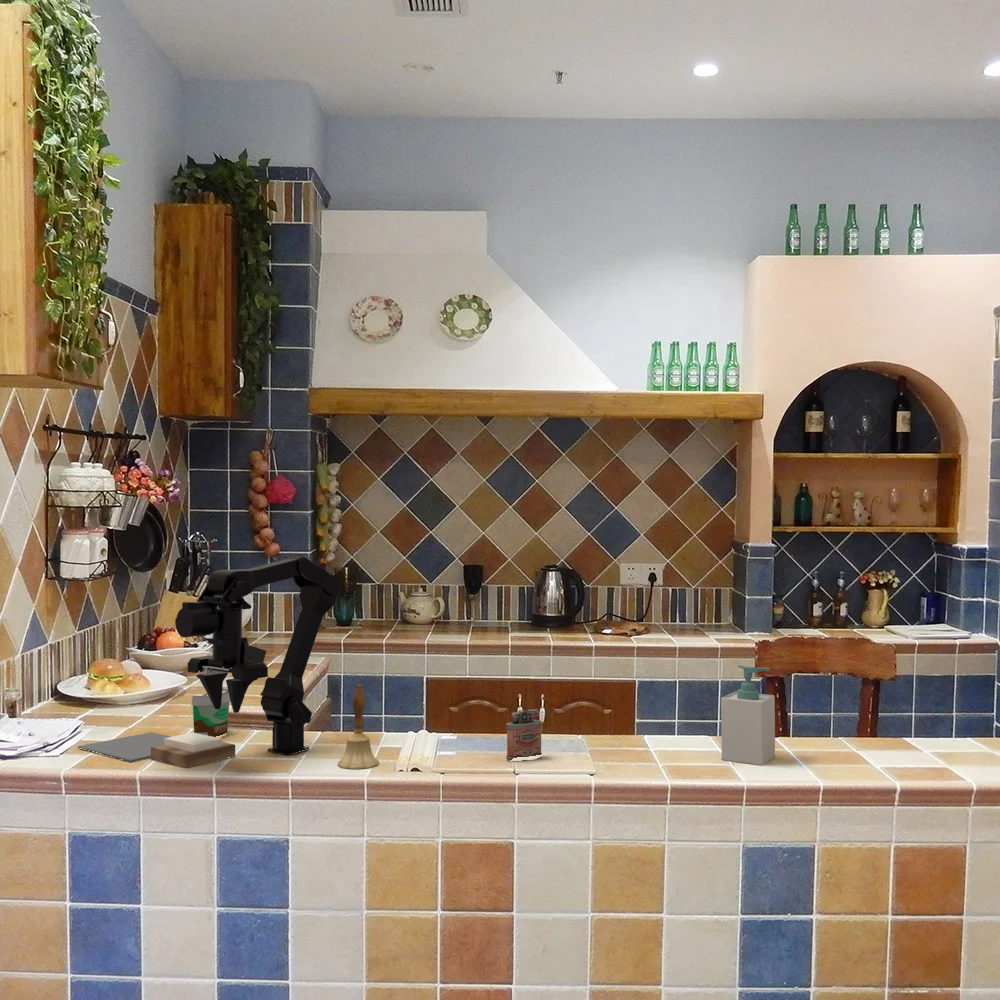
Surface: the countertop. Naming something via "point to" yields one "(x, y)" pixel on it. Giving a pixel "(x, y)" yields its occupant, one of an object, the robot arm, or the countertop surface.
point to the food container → (210, 715)
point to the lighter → (523, 735)
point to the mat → (128, 746)
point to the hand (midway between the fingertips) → (226, 710)
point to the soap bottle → (748, 723)
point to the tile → (193, 742)
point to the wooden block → (191, 755)
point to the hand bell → (358, 739)
